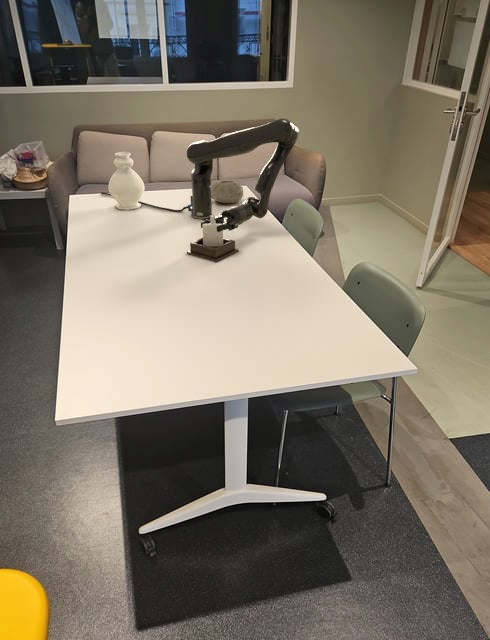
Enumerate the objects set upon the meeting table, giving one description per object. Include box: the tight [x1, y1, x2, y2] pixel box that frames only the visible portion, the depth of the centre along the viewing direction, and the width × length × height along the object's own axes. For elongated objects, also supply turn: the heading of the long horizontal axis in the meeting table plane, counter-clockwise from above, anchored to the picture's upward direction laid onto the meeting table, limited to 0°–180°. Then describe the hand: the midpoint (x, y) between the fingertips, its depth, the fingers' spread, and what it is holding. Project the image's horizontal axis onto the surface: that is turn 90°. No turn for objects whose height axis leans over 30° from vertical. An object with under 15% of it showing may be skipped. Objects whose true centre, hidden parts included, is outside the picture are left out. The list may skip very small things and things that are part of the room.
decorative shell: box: [211, 179, 244, 204], centre depth 264 cm, size 18×18×10 cm
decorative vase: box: [107, 151, 146, 211], centre depth 250 cm, size 18×18×25 cm
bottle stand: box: [186, 237, 239, 263], centre depth 203 cm, size 15×15×4 cm
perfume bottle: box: [202, 214, 224, 247], centre depth 199 cm, size 8×2×12 cm, turn 90°
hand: (209, 227), depth 197 cm, fingers closed on perfume bottle, 7 cm apart
